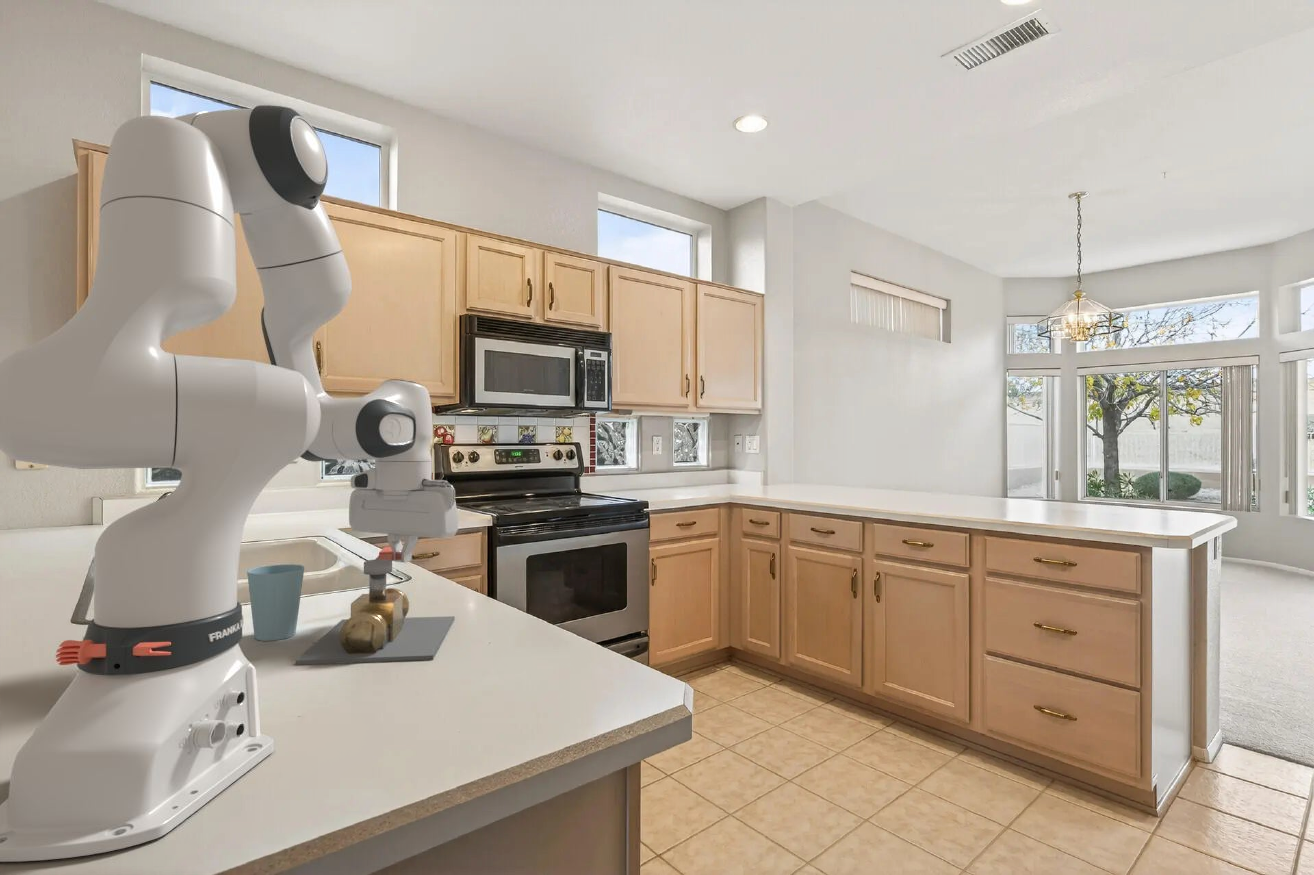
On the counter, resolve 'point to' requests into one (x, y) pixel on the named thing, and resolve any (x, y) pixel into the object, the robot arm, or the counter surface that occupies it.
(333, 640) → the mat
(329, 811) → the counter surface
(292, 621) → the cup
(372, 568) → the lever
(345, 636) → the valve body
